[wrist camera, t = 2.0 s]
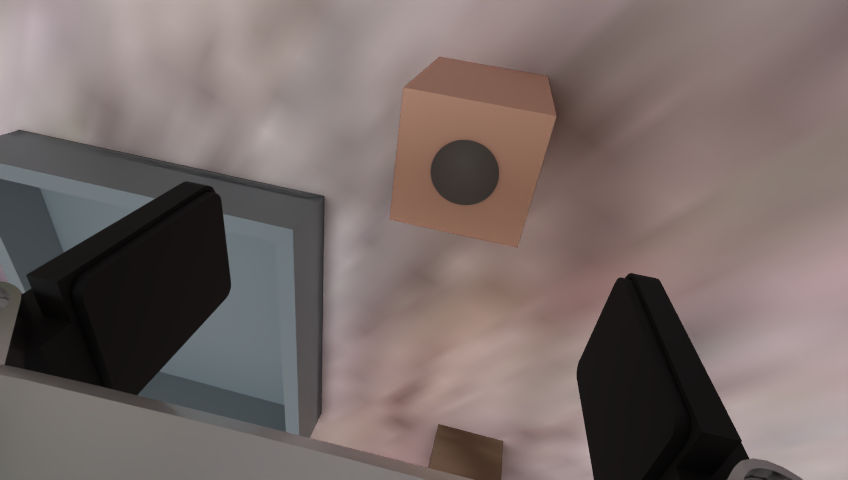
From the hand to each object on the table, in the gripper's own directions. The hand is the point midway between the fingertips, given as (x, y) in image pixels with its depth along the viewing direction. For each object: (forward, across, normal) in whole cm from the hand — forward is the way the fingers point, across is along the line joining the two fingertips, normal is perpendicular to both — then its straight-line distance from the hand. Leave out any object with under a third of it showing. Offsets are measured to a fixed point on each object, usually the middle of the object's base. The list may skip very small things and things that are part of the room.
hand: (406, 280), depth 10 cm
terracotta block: (+13, -1, -1) cm, 13 cm away
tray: (+14, +17, +15) cm, 27 cm away
